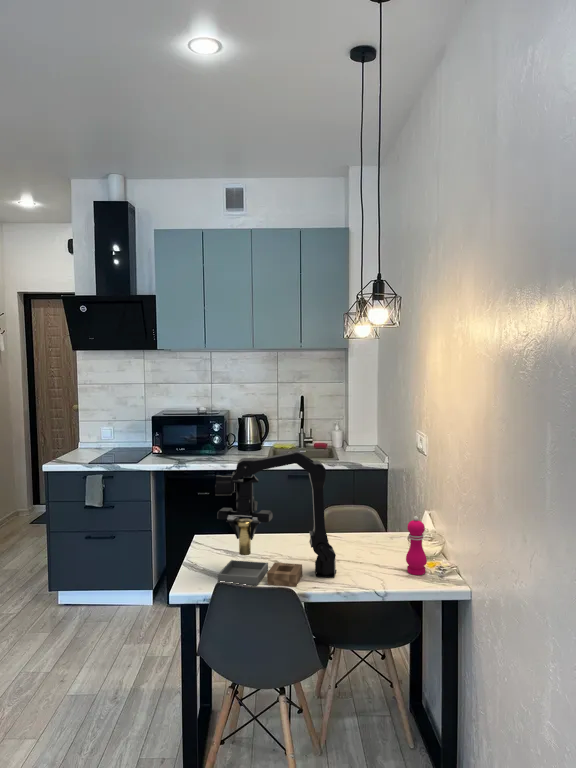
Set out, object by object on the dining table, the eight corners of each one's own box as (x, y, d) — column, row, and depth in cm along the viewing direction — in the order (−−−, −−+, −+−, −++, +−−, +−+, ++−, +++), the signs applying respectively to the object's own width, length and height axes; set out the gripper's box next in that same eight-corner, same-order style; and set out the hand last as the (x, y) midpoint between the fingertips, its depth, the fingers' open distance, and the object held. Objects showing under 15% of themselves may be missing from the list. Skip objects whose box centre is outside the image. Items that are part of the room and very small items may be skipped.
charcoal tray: (268, 570, 199) (268, 562, 199) (257, 586, 185) (257, 577, 185) (231, 568, 202) (231, 560, 202) (217, 583, 189) (217, 574, 188)
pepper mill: (424, 568, 199) (424, 513, 199) (429, 575, 192) (428, 518, 191) (404, 568, 199) (403, 513, 199) (408, 576, 192) (407, 519, 192)
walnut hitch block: (302, 575, 194) (302, 564, 194) (296, 586, 184) (296, 575, 184) (274, 573, 196) (274, 562, 196) (267, 584, 187) (267, 572, 186)
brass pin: (254, 551, 195) (254, 519, 195) (250, 556, 190) (250, 523, 189) (239, 550, 196) (239, 518, 196) (234, 555, 191) (234, 522, 191)
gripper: (276, 491, 198) (276, 534, 199) (227, 488, 202) (227, 530, 203) (268, 498, 187) (268, 543, 188) (216, 495, 192) (216, 540, 192)
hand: (244, 539), depth 193 cm, fingers closed on brass pin, 5 cm apart
